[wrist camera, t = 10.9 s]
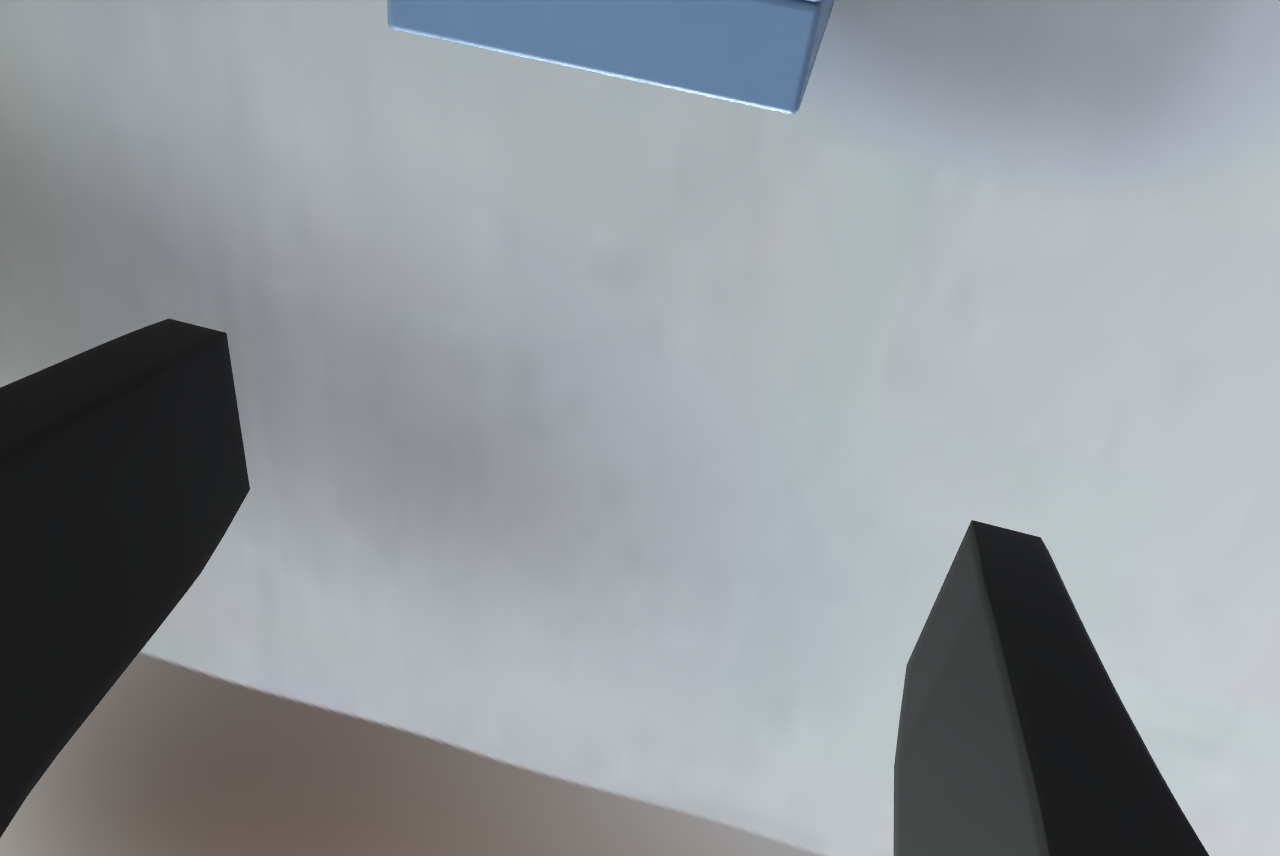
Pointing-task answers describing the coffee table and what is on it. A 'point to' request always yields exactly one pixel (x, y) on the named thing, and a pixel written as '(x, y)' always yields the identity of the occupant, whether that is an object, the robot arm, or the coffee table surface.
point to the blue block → (646, 40)
